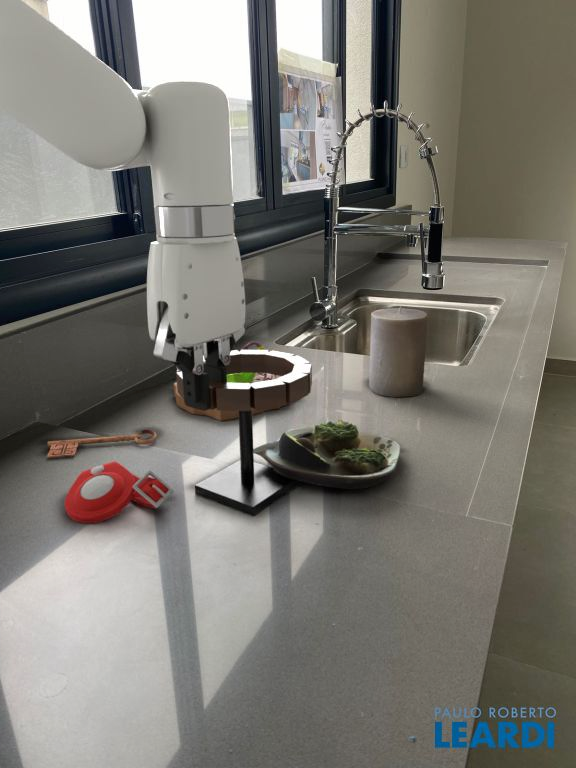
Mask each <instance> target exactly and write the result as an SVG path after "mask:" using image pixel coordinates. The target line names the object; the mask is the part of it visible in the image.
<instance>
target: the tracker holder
mask: <svg viewBox="0 0 576 768" xmlns="http://www.w3.org/2000/svg"><path fill="white" fill-rule="evenodd" d="M150 476H151V477H150ZM174 491H175V490H174V489H173V488H172V487H171V486H170V485H169V484H168V483H166V482H165V481H164V480H162V478H160V477H159V476H158V475H156V474H155V473H154V471H152V470H148V471H147V472H145V474H144V475H142V476H141V477H138V476H136V475H135V474H132V473H131V471H129V470H128V468H126V467H124V465H122V464H120V463H119V462H117V461H111V462H108V463H104V464H101V465H99V464H98V465H96V466H94V467H91V468H89V469H86V470H83V471H81V472H80V473H79V475H78V476H77V478H76V479H75V480H74V481H73V483H72V485H71V487H70V488H69V490H68V491H67V495H66V497H65V499H64V509H65V512H66V514H67V515H68V517H69V518H70V519H71V520H73V521H74V522H77V523H79V524H80V523H81V524H95V523H100V522H103V521H106V520H109V519H111V518H112V517H114V516H116V515H117V514H119V513H120V512H121V511H123V510H124V509H125V508H126V507H127V506H128V505H129V504H130V502H131V501H134V502H135V503H137V504H139V505H141V506H143V507H147V508H150V509H158V508H160V506H162V505H163V504H164V503H165V502H166V501H167V500H168V499H169V497H171V495H173V494H174Z"/></svg>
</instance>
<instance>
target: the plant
mask: <svg viewBox="0 0 576 768" xmlns="http://www.w3.org/2000/svg"><path fill="white" fill-rule="evenodd" d="M253 345H255V347H256V350H265V347H264V345H263V344H262V343H261V342H257V341H254V340H253V341H249V342H248V343H246V344H244V346H242V348H241V349H240V351H241V350H249V348H250V347H251V346H253ZM234 350H236V346H235V345H234V347H233V348H232V350H231V351H234ZM280 377H282V376H278V375H273V374H268V373H235V374H228V375H227V383H255V382H261V381H268V380H274V379H277V378H280ZM173 395H174V397H175V402H176V405H177V406H178V407H179V408H180V409H182V410H185V411H187V412H188V413H190V414H191V415H199V416H200V415H201V416H206V417H210V418H213V419H215V420H218V421H220V422H223V421H230V420H236V419H239V414H238V411H221V410H217V408H216V409H213V410H211V409H208V410H206V411H203V410H199V409H195V408H192V407H188V406H186V405H185V403H184V399H183V398H182V397H181V396H180V395H179V394H178V391H177V381H175V382H174V383H173ZM289 405H290V404H287V403H286V405H285V406H289ZM281 408H282V406H279V407H273V408H268V409H262V410H254V409H253V408H252V416H254V415H257V414H261V413H264V412H267V411H270V410H280V409H281Z"/></svg>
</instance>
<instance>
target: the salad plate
mask: <svg viewBox="0 0 576 768" xmlns="http://www.w3.org/2000/svg"><path fill="white" fill-rule="evenodd" d="M357 427H358V426H357V425H355V424H353V423H352V422H350V423H349V422H348V421H343V419H338V420H337V422H332V421H331V420H329V421H327V423H320V424H315V425H314V426H306V427H297V428H292V429H288V430H287V431H286V432H283V433H282V434H281V436H280V437H279V438H278V439H277V440H276V441H273V442H268V443H264V444H262V445H260V446H257V447H254V448H253V453H254V455H258V456H260V457H261V458H262V459H264V460H265V462H267V463H268V464H269V465H270V467H272V468H273V469H274V470H275V471H276V472H277V473H279V474H280V475H282V476H284V477H287V478H289V479H293V480H297V481H299V482H303V483H306V484H312V485H317V486H322V487H327V488H336V489H347V490H348V489H349V490H350V489H353V490H354V489H355V490H356V489H357V490H358V489H369V488H372V487H376V486H378V485H379V484H381V483H383V482H384V481H386V480H387V479H389V478H390V477H391V476H393V475H394V474H395V472H396V471H397V464H398V461H399V458H400V455H401V446H400V444H399V443H398V442H397V441H395V440H393V439H391V438H389V437H386V436H383V435H379V434H372V433H371V434H370V433H360V432H359V430H358V428H357Z"/></svg>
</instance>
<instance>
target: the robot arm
mask: <svg viewBox="0 0 576 768" xmlns="http://www.w3.org/2000/svg"><path fill="white" fill-rule="evenodd" d="M0 110H2V111H3V112H4V113H5V114H7V115H8V116H10V117H12V118H13V119H15V120H16V121H17V122H19V123H20V124H21V125H23V126H24V127H25V128H27V129H29V131H31V132H33V133H34V134H35V135H37V136H39V138H42V139H43V140H44V141H45V142H47V143H48V144H50V145H51V146H53V147H54V148H55V149H57V150H58V151H60V152H61V153H62V154H64V155H65V156H67V157H68V158H70V159H71V160H72V161H75V162H76V163H78V164H80V165H82V166H85V167H88V168H92V169H94V170H98V171H104V172H116V171H117V172H118V171H123V170H128V169H134V168H141V167H149V166H150V174H151V185H152V196H153V198H152V199H153V209H154V210H153V211H154V223H155V233H156V234H155V235H156V241H152V242H150V245H149V252H148V258H147V259H148V260H147V269H146V270H147V274H146V311H147V312H146V313H147V328H148V334H149V338H150V340H152V341H153V342H155V345H154V349H153V356H154V358H155V359H160V360H165V361H168V362H171V363H172V364H173V365H174V366H175V368H176V371H177V370H178V371H182V377H183V391H184V403H185V405H186V406H188V407H192V408H195V409H199V410H203V411H206V410H208V409H210V397H209V380H213V381H217V382H221V383H227V371H226V366H225V365H228V364H229V363H230V352H231V350H232V348H233V347H234V346H235V344H236V343H237V342H238V341H239V340H240V339H241V338H242V337H243V336H244V335H245V333H246V328H245V324H246V291H245V279H244V273H243V272H244V271H243V265H242V258H241V254H240V253H241V252H240V248H239V247H240V246H239V244H238V239H237V237H236V234H235V232H236V231H235V230H236V229H235V221H236V214H235V207H234V194H233V193H234V187H233V186H234V185H233V162H232V161H233V160H232V159H233V157H232V138H231V136H232V135H231V116H230V115H231V113H230V102H229V97H228V95H227V93H226V91H225V90H224V88H222V87H221V86H219V85H217V84H214V83H212V82H206V81H199V80H171V81H165V82H159V83H157V84H155V85H153V86H152V87H151V88H149V90H141V89H133V87H132V86H131V85H130V84H129V83H128V82H127V81H126V80H125V79H124V78H123V77H122V76H121V75H119V74H118V73H117V72H116V71H115V70H113V69H112V68H111V67H110V66H109V65H107V64H106V63H105V62H103V61H102V60H101V59H100V58H99V57H97V56H96V55H94V54H93V53H92V52H90V51H89V50H88V49H87V48H85V47H84V46H83V45H81V44H80V43H79V42H78V41H76V40H75V39H74V38H73V37H71V35H68V34H67V33H65V32H64V30H62V29H61V28H59V26H57V25H56V24H54V23H53V22H52V21H51V20H49V19H48V18H47V17H45V16H44V15H42V14H41V13H40V12H38V11H37V10H36V9H34V8H33V7H31V6H30V5H29V4H27V3H26V2H25V1H23V0H0ZM188 351H190V354H189V353H188ZM203 356H204V359H205V361H206V362H203Z"/></svg>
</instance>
